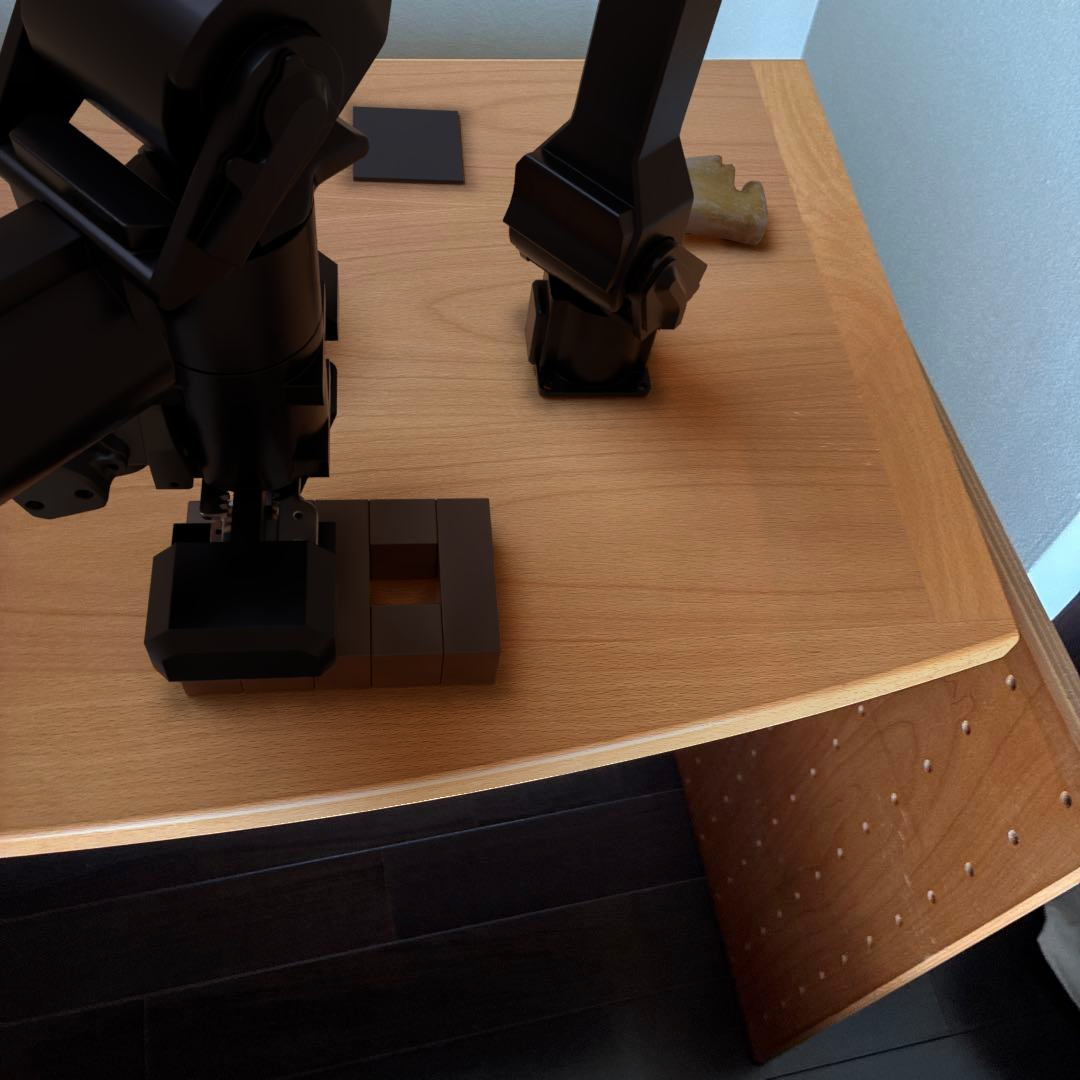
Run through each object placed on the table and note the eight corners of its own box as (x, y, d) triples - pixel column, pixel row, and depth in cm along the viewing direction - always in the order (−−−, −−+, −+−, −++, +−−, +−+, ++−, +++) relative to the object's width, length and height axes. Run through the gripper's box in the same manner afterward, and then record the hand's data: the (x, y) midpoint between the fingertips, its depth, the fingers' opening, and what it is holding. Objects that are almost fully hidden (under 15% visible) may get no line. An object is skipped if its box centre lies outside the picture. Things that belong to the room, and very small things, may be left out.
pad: (457, 114, 74) (458, 110, 74) (463, 184, 71) (463, 180, 70) (352, 109, 73) (352, 106, 73) (353, 180, 70) (352, 176, 69)
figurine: (755, 156, 72) (535, 117, 68) (786, 179, 68) (552, 138, 64) (732, 234, 75) (519, 200, 71) (760, 260, 70) (534, 226, 66)
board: (483, 535, 57) (489, 497, 54) (495, 685, 52) (501, 652, 49) (198, 539, 54) (187, 499, 52) (185, 695, 50) (172, 661, 47)
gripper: (14, 112, 39) (107, 393, 52) (-96, 558, 29) (52, 767, 43) (331, 125, 41) (344, 394, 54) (326, 551, 31) (343, 754, 44)
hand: (273, 557), depth 49 cm, fingers closed on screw, 4 cm apart
